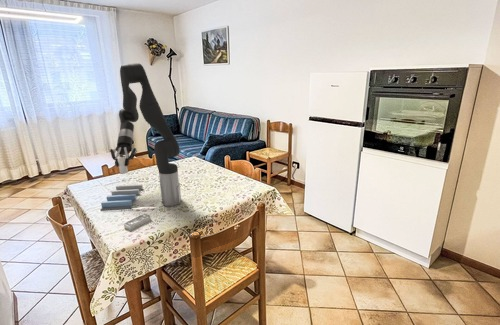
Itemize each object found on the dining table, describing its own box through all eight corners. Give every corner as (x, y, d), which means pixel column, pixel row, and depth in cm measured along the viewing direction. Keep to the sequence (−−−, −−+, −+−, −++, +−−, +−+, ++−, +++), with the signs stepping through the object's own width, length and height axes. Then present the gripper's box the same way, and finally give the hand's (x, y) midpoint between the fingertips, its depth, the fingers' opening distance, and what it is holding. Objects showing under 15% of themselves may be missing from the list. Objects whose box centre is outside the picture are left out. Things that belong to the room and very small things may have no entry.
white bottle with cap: (129, 171, 147) (126, 153, 144) (126, 173, 143) (123, 155, 140) (121, 171, 147) (118, 153, 144) (118, 174, 143) (115, 155, 140)
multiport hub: (124, 228, 116) (123, 223, 116) (145, 217, 125) (144, 213, 125) (130, 231, 114) (129, 226, 114) (151, 220, 123) (150, 215, 123)
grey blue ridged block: (143, 188, 157) (142, 183, 156) (130, 209, 133) (129, 202, 132) (118, 190, 156) (117, 184, 155) (100, 210, 131) (99, 204, 130)
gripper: (109, 135, 146) (104, 163, 138) (136, 134, 147) (133, 162, 139) (114, 142, 152) (110, 169, 144) (140, 141, 154) (137, 168, 146)
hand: (121, 165), depth 142 cm, fingers closed on white bottle with cap, 4 cm apart
